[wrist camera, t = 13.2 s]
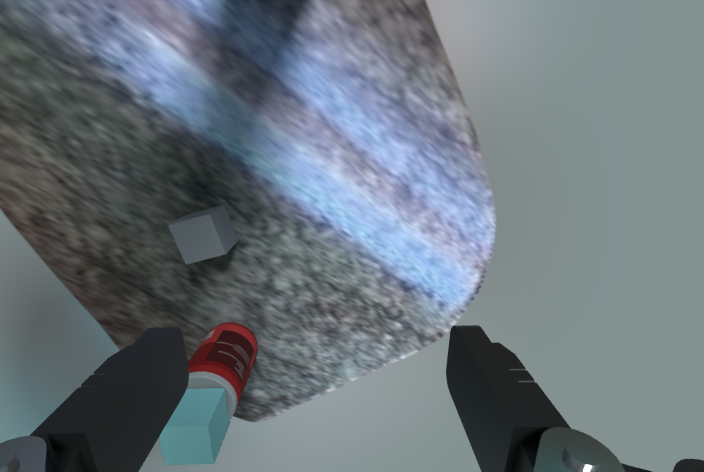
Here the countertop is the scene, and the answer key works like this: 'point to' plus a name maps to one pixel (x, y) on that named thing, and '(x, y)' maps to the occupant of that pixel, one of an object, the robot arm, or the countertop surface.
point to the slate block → (204, 234)
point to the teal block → (196, 428)
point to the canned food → (224, 361)
